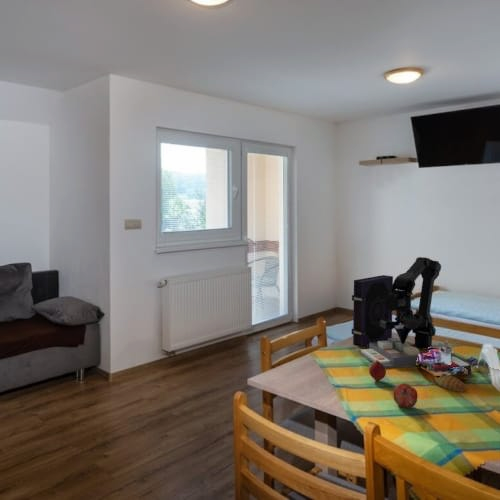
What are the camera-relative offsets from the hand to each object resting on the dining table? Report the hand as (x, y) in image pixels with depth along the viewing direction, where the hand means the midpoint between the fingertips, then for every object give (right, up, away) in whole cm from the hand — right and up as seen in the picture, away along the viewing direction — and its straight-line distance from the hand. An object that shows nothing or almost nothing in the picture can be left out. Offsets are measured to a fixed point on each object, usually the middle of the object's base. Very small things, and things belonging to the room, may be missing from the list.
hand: (402, 343), depth 194 cm
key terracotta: (-6, -5, -4) cm, 9 cm away
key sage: (0, -3, 0) cm, 3 cm away
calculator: (+11, -8, -15) cm, 21 cm away
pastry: (+7, -9, -31) cm, 33 cm away
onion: (-18, -9, -25) cm, 32 cm away
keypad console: (-6, -6, -1) cm, 9 cm away
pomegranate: (-15, -11, -46) cm, 49 cm away
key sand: (+1, -4, -6) cm, 7 cm away
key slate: (-1, -3, +7) cm, 7 cm away
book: (-6, -4, +25) cm, 26 cm away
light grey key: (-7, -3, +2) cm, 8 cm away
